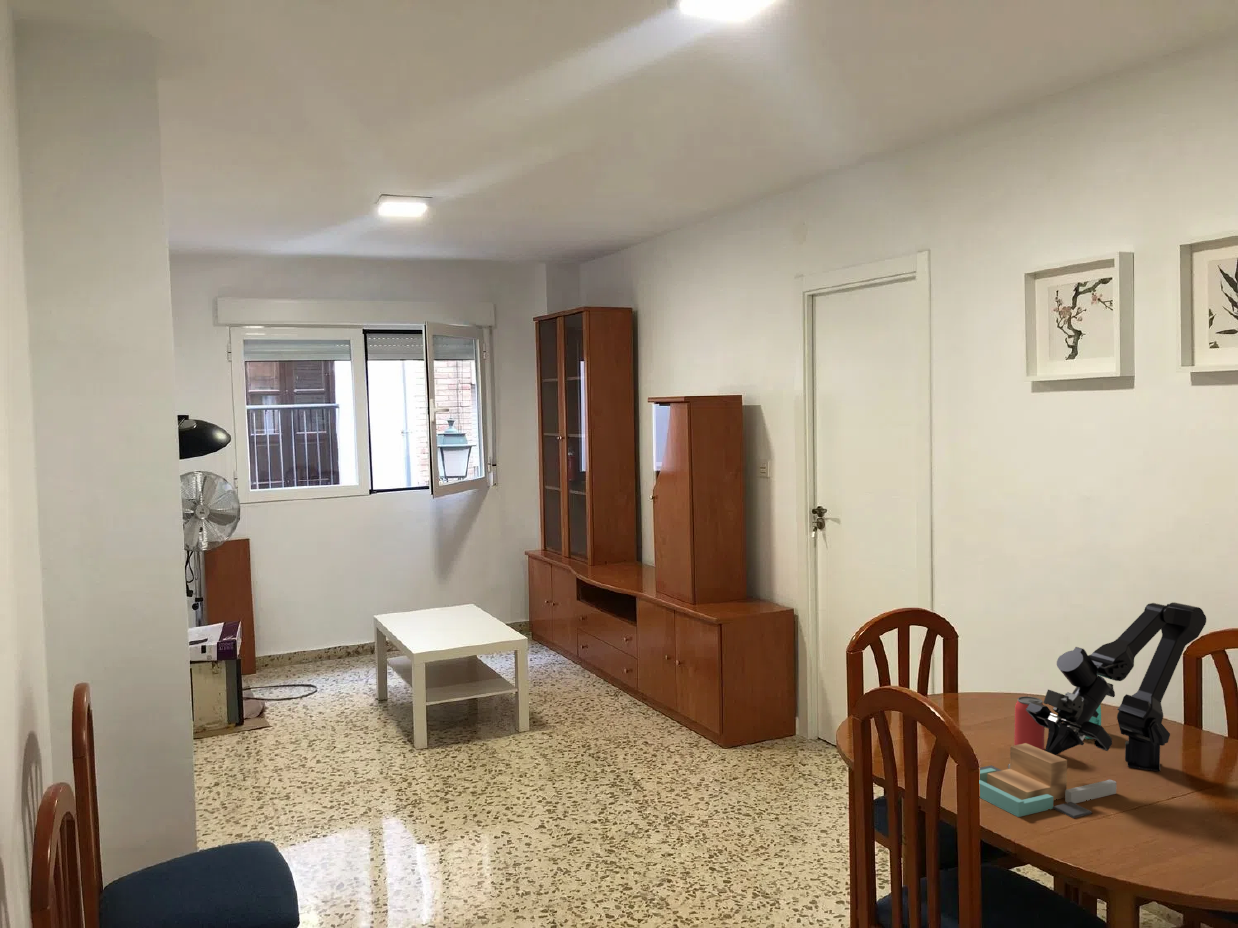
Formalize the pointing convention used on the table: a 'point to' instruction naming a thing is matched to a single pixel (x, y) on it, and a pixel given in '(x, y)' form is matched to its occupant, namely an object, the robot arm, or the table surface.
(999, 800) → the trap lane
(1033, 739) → the beer can
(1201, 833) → the table surface
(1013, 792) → the step block
